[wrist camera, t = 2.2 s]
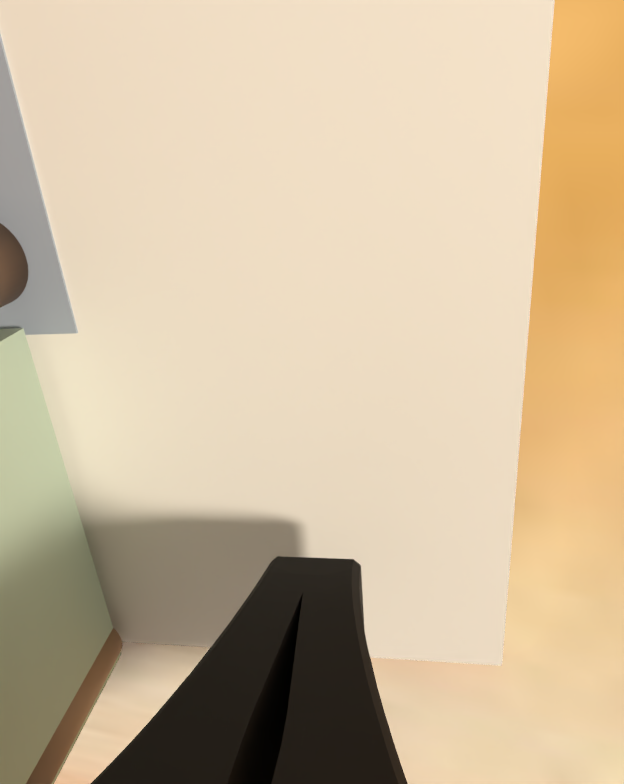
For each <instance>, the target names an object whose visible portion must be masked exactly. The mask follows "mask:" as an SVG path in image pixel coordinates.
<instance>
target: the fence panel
mask: <svg viewBox="0 0 624 784" xmlns="http://www.w3.org/2000/svg"><path fill="white" fill-rule="evenodd" d="M121 649H122V640H121V637H120V635H119V634H118V632H117V631H116V630H115V629H114V628H113V625H112V622H111V618H110V615H109V612H108V608H107V605H106V602H105V598H104V595H103V592H102V588H101V585H100V582H99V578H98V575H97V572H96V568H95V565H94V562H93V558H92V555H91V552H90V548H89V545H88V542H87V538H86V535H85V532H84V528H83V525H82V522H81V518H80V515H79V512H78V508H77V505H76V502H75V498H74V495H73V492H72V488H71V485H70V482H69V479H68V475H67V472H66V469H65V465H64V462H63V459H62V455H61V452H60V449H59V445H58V442H57V439H56V435H55V432H54V429H53V425H52V422H51V419H50V415H49V412H48V409H47V405H46V402H45V399H44V395H43V392H42V389H41V385H40V382H39V379H38V375H37V372H36V369H35V365H34V362H33V359H32V355H31V352H30V349H29V345H28V342H27V339H26V335H25V332H24V329H23V328H11V329H0V784H54V782H55V780H56V779H57V777H58V775H59V773H60V771H61V769H62V767H63V765H64V763H65V761H66V759H67V757H68V755H69V753H70V752H71V750H72V748H73V746H74V744H75V742H76V740H77V738H78V736H79V734H80V732H81V730H82V728H83V727H84V725H85V723H86V721H87V719H88V717H89V715H90V713H91V711H92V709H93V707H94V705H95V703H96V702H97V700H98V698H99V696H100V694H101V692H102V690H103V688H104V686H105V684H106V682H107V680H108V678H109V676H110V675H111V673H112V671H113V669H114V667H115V665H116V663H117V661H118V659H119V657H120V655H121Z"/></svg>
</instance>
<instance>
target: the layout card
mask: <svg viewBox="0 0 624 784" xmlns="http://www.w3.org/2000/svg"><path fill="white" fill-rule="evenodd" d="M553 13H554V0H0V223H1V224H2V225H4V226H5V227H6V228H7V229H8V230H10V232H11V233H12V234H13V235H14V236H15V237H16V239H17V240H18V242H19V243H20V245H21V247H22V249H23V251H24V253H25V256H26V259H27V263H28V281H27V284H26V287H25V289H24V291H23V293H22V294H21V295H20V296H19V297H18V298H17V299H16V300H14V301H13V302H11V303H9V304H7V305H5V306H3V307H1V308H0V329H11V328H23V329H24V332H25V335H26V339H27V342H28V345H29V349H30V352H31V355H32V359H33V362H34V365H35V369H36V372H37V375H38V379H39V382H40V385H41V389H42V392H43V395H44V399H45V402H46V405H47V409H48V412H49V415H50V419H51V422H52V425H53V429H54V432H55V435H56V439H57V442H58V445H59V449H60V452H61V455H62V459H63V462H64V465H65V469H66V472H67V475H68V479H69V482H70V485H71V488H72V492H73V495H74V498H75V502H76V505H77V508H78V512H79V515H80V518H81V522H82V525H83V528H84V532H85V535H86V538H87V542H88V545H89V548H90V552H91V555H92V558H93V562H94V565H95V568H96V572H97V575H98V578H99V582H100V585H101V588H102V592H103V595H104V598H105V602H106V605H107V608H108V612H109V615H110V618H111V622H112V625H113V628H114V629H115V630H116V631H117V632H118V634H119V635H120V637H121V640H122V642H133V643H149V644H165V645H181V646H197V647H211V646H212V645H213V644H214V642H215V641H216V640H217V639H218V637H219V636H220V635H221V633H222V632H223V631H224V629H225V628H226V627H227V625H228V624H229V623H230V621H231V620H232V618H233V617H234V616H235V614H236V613H237V611H238V610H239V609H240V607H241V606H242V604H243V603H244V602H245V600H246V599H247V597H248V596H249V594H250V593H251V591H252V590H253V589H254V587H255V586H256V584H257V583H258V581H259V580H260V578H261V576H262V575H263V573H264V572H265V570H266V569H267V567H268V566H269V564H270V563H271V561H272V560H274V559H275V558H276V557H277V556H282V557H309V558H337V559H354V560H355V561H356V562H357V563H359V564H360V565H361V576H362V594H363V612H364V630H365V636H366V641H367V646H368V651H369V655H370V657H372V658H388V659H404V660H420V661H436V662H452V663H468V664H484V665H500V666H502V659H503V646H504V633H505V621H506V608H507V595H508V583H509V570H510V558H511V545H512V532H513V520H514V507H515V494H516V482H517V469H518V456H519V444H520V431H521V418H522V406H523V393H524V380H525V368H526V355H527V342H528V330H529V317H530V304H531V292H532V279H533V266H534V254H535V241H536V228H537V216H538V203H539V190H540V178H541V165H542V152H543V140H544V127H545V114H546V102H547V89H548V76H549V64H550V51H551V38H552V26H553Z"/></svg>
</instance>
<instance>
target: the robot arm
mask: <svg viewBox="0 0 624 784" xmlns="http://www.w3.org/2000/svg"><path fill="white" fill-rule="evenodd" d="M91 784H407V781H406V778H405V775H404V772H403V770H402V767H401V764H400V761H399V758H398V755H397V752H396V749H395V746H394V742H393V739H392V736H391V733H390V729H389V726H388V723H387V720H386V716H385V713H384V710H383V706H382V703H381V699H380V695H379V692H378V688H377V684H376V680H375V676H374V672H373V668H372V663H371V659H370V655H369V651H368V646H367V641H366V636H365V630H364V612H363V594H362V576H361V565H360V564H359V563H357V562H356V561H355V560H354V559H337V558H309V557H282V556H277V557H276V558H275V559H274V560H272V561H271V563H270V564H269V566H268V567H267V569H266V570H265V572H264V573H263V575H262V576H261V578H260V580H259V581H258V583H257V584H256V586H255V587H254V589H253V590H252V591H251V593H250V594H249V596H248V597H247V599H246V600H245V602H244V603H243V604H242V606H241V607H240V609H239V610H238V611H237V613H236V614H235V616H234V617H233V618H232V620H231V621H230V623H229V624H228V625H227V627H226V628H225V629H224V631H223V632H222V633H221V635H220V636H219V637H218V639H217V640H216V641H215V642H214V644H213V645H212V646H211V648H210V649H209V650H208V652H207V653H206V654H205V656H204V657H203V658H202V660H201V661H200V662H199V663H198V665H197V666H196V667H195V668H194V670H193V671H192V672H191V673H190V675H189V676H188V677H187V678H186V679H185V680H184V682H183V683H182V684H181V685H180V686H179V688H178V689H177V690H176V691H175V692H174V694H173V695H172V696H171V697H170V698H169V699H168V701H167V702H166V703H165V704H164V705H163V707H162V708H161V709H160V710H159V711H158V713H157V714H156V715H155V716H154V717H153V718H152V719H151V721H150V722H149V723H148V724H147V725H146V726H145V727H144V728H143V729H142V731H141V732H140V733H139V734H138V735H137V736H136V737H135V738H134V739H133V740H132V742H131V743H130V744H129V745H128V746H127V747H126V748H125V749H124V750H123V751H122V752H121V753H120V754H119V755H118V756H117V757H116V758H115V759H114V760H113V762H112V763H111V764H110V765H109V766H108V767H107V768H106V769H105V770H104V771H103V772H102V773H101V774H100V775H99V776H98V777H97V778H96V779H95V780H94V781H93V782H92V783H91Z"/></svg>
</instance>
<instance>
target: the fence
mask: <svg viewBox="0 0 624 784" xmlns="http://www.w3.org/2000/svg"><path fill="white" fill-rule="evenodd" d="M27 281H28V263H27V259H26V256H25V253H24V251H23V249H22V247H21V245H20V243H19V242H18V240H17V239H16V237H15V236H14V235H13V234H12V233H11V232H10V230H8V229H7V228H6V227H5V226H4V225H2V224H1V223H0V308H1V307H3V306H5V305H7V304H9V303H11V302H13V301H14V300H16V299H17V298H18V297H19V296H20V295H21V294H22V293H23V291H24V289H25V287H26V284H27Z"/></svg>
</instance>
